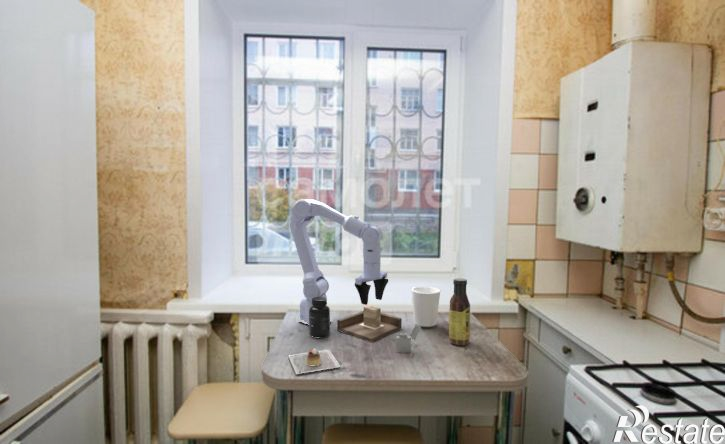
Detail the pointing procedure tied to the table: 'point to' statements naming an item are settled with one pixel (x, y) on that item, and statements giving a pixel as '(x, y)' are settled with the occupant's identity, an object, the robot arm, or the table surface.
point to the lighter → (406, 340)
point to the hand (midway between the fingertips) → (371, 301)
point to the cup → (425, 306)
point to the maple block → (372, 316)
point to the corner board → (358, 329)
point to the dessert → (315, 359)
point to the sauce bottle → (459, 314)
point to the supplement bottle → (319, 317)
